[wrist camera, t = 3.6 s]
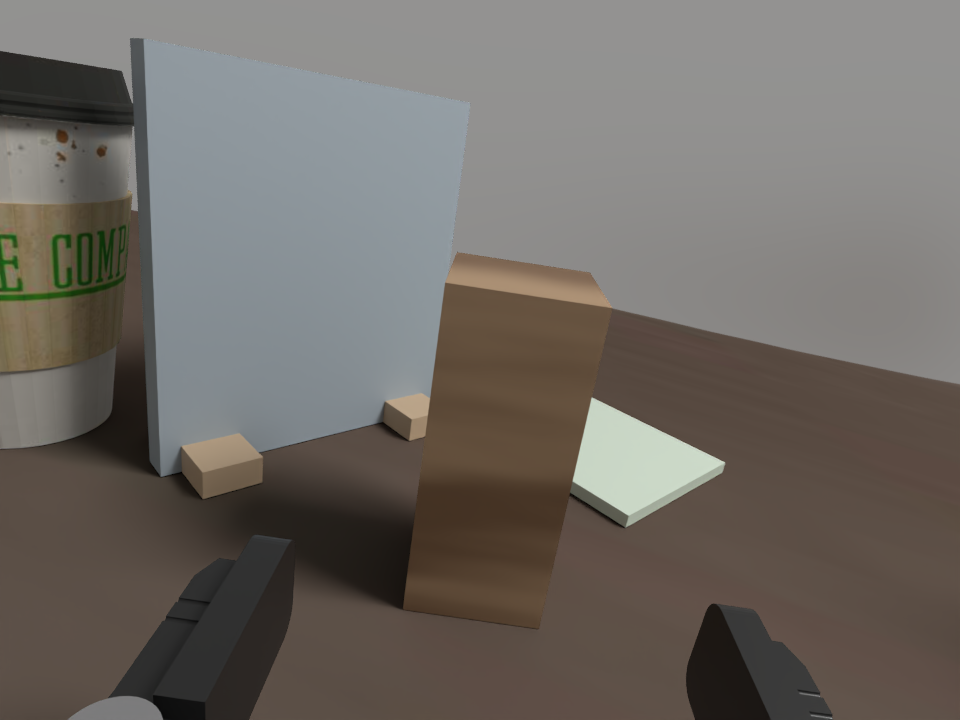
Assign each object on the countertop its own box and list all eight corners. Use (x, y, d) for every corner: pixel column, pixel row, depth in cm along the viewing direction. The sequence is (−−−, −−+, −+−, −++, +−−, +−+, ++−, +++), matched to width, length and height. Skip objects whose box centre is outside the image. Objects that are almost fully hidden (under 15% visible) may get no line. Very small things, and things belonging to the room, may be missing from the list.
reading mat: (625, 527, 26) (628, 515, 26) (483, 437, 32) (484, 427, 32) (722, 472, 32) (725, 462, 32) (587, 405, 38) (589, 396, 38)
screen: (181, 505, 23) (168, 39, 18) (132, 437, 27) (110, 37, 22) (457, 427, 33) (504, 106, 27) (392, 385, 37) (422, 97, 31)
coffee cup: (-43, 503, 22) (-126, 30, 16) (-162, 412, 26) (-258, 11, 21) (200, 416, 30) (195, 82, 25) (80, 358, 34) (55, 61, 29)
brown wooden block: (540, 629, 20) (614, 308, 16) (402, 609, 20) (444, 282, 16) (534, 543, 24) (592, 273, 21) (420, 527, 24) (456, 252, 21)
